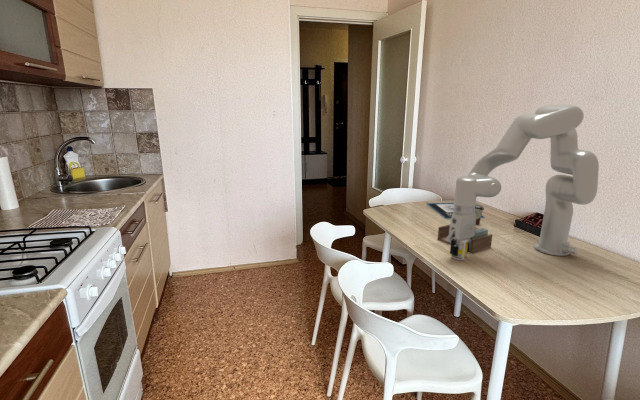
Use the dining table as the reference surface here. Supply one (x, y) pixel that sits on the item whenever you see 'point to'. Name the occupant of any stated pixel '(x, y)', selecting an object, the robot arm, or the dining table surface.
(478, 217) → the food container
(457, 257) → the supplement bottle
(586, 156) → the robot arm
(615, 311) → the dining table surface
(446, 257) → the dining table surface
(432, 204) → the sketchbook
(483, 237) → the rack
